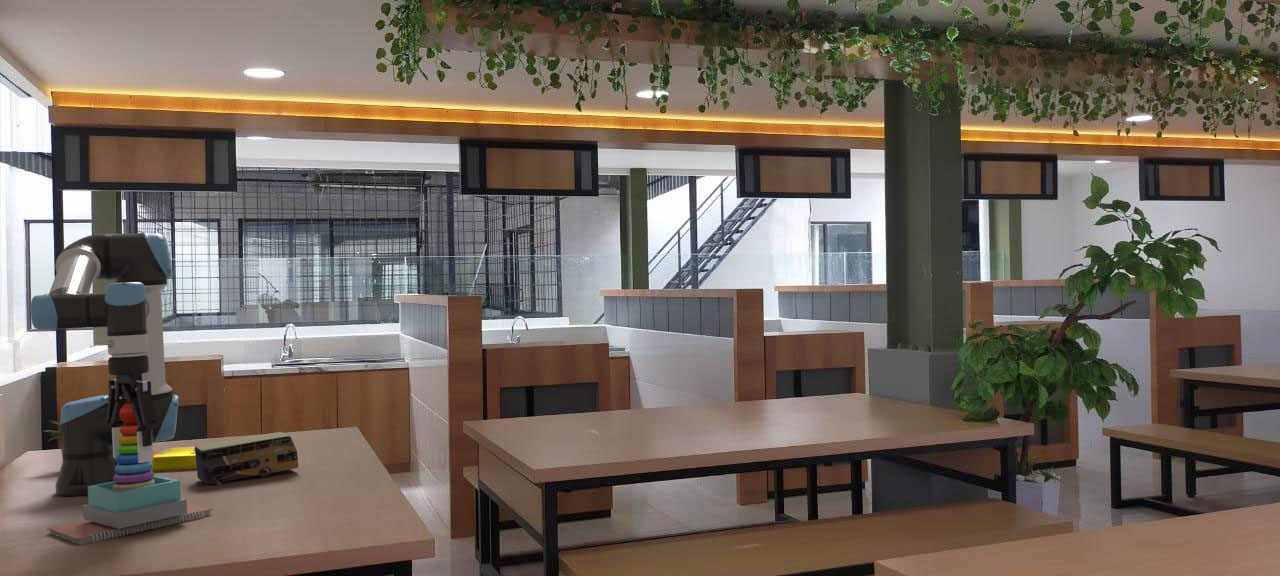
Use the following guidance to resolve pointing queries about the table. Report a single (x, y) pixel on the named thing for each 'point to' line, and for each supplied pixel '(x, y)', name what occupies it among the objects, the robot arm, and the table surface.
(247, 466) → the toy bus
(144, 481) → the stacking toy
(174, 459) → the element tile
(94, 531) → the notebook
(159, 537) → the table surface
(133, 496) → the brick base
